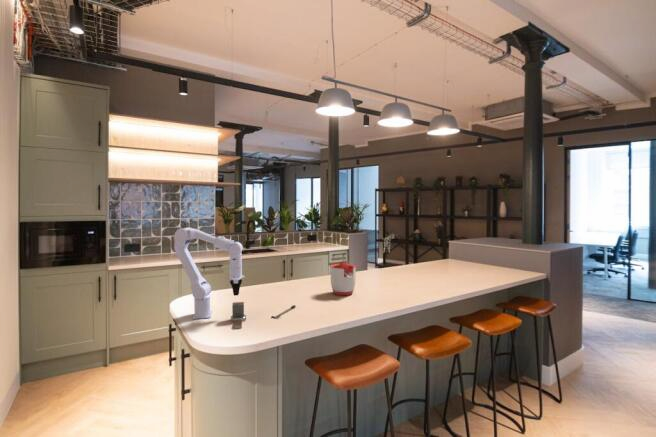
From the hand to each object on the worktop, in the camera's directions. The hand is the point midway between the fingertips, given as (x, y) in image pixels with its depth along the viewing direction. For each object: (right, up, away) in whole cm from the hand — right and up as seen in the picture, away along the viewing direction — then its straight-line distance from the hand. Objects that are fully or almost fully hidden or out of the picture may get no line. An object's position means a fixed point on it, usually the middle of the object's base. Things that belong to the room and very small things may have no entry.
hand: (236, 295), depth 175 cm
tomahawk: (+24, -11, +6) cm, 27 cm away
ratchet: (+3, -11, -9) cm, 15 cm away
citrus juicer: (+54, -9, +45) cm, 71 cm away
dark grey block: (+2, -9, -5) cm, 11 cm away
